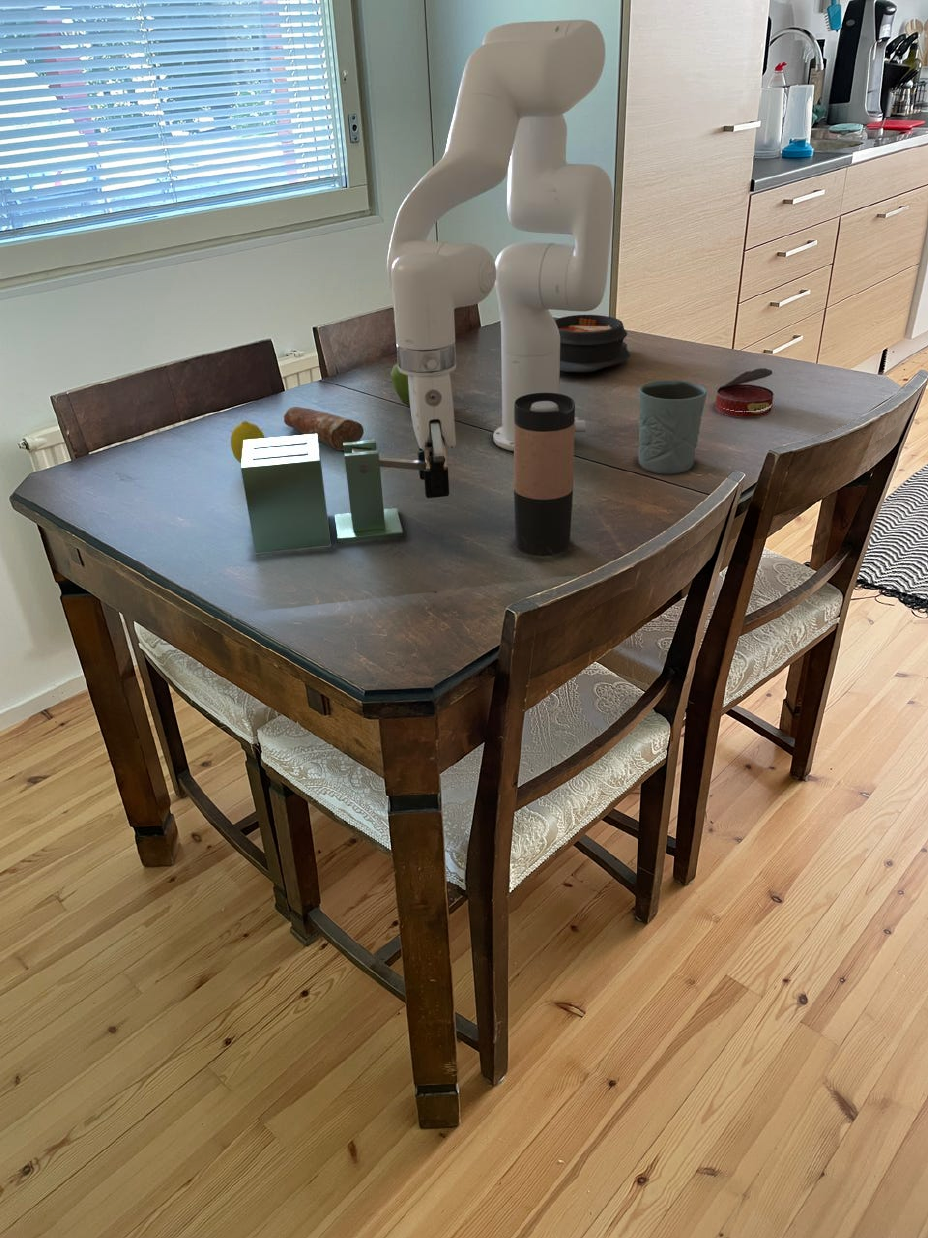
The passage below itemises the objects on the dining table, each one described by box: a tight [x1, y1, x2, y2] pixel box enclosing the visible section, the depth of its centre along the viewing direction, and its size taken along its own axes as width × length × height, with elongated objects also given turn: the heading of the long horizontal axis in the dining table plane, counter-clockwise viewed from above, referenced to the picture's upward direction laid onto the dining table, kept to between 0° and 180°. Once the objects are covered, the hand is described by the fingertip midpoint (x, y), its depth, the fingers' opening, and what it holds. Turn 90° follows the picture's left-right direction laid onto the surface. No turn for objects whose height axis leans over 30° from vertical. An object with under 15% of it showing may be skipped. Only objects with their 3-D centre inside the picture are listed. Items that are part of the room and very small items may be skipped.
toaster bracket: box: [333, 439, 404, 544], centre depth 127 cm, size 9×8×12 cm
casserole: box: [554, 314, 631, 374], centre depth 193 cm, size 25×19×8 cm
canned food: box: [714, 367, 774, 419], centre depth 166 cm, size 11×10×10 cm
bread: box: [283, 406, 365, 451], centre depth 161 cm, size 6×19×6 cm, turn 39°
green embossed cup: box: [638, 379, 708, 475], centre depth 144 cm, size 10×10×12 cm
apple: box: [390, 362, 410, 408], centre depth 172 cm, size 11×10×10 cm
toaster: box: [240, 434, 332, 556], centre depth 125 cm, size 10×10×13 cm
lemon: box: [230, 420, 265, 464], centre depth 149 cm, size 6×6×8 cm
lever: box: [351, 448, 433, 471], centre depth 125 cm, size 12×6×2 cm, turn 100°
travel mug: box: [513, 393, 576, 557], centre depth 118 cm, size 8×8×20 cm
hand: (434, 485), depth 128 cm, fingers closed on lever, 5 cm apart
